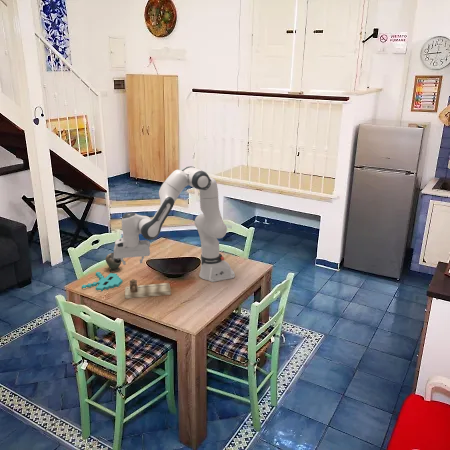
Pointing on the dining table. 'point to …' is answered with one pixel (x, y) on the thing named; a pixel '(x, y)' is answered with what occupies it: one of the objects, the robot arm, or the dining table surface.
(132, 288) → the gauge
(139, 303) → the dining table surface
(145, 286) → the board
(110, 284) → the alien figure
